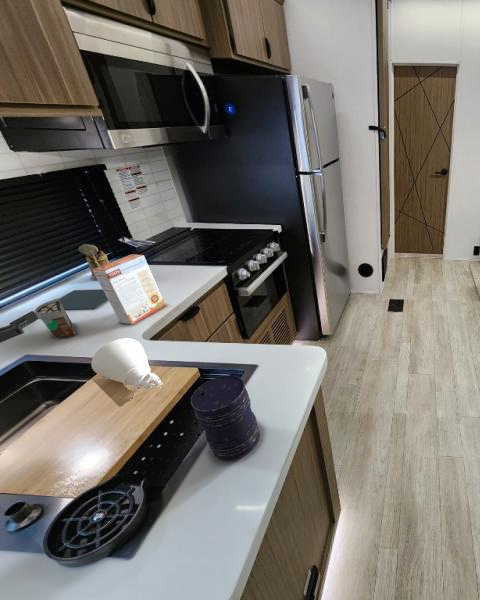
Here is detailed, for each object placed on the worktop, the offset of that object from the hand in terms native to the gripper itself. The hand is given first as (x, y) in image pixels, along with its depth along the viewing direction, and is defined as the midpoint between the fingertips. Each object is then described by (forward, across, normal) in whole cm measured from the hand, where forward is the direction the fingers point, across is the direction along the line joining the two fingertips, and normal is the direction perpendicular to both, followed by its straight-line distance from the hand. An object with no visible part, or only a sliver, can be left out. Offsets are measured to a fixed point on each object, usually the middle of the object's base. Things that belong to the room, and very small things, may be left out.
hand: (11, 315), depth 96 cm
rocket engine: (-17, +41, -13) cm, 46 cm away
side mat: (+34, -11, -13) cm, 38 cm away
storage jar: (-37, +75, -14) cm, 85 cm away
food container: (+10, 0, -13) cm, 16 cm away
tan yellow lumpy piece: (+55, -18, -13) cm, 59 cm away
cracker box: (+21, +20, -13) cm, 32 cm away
